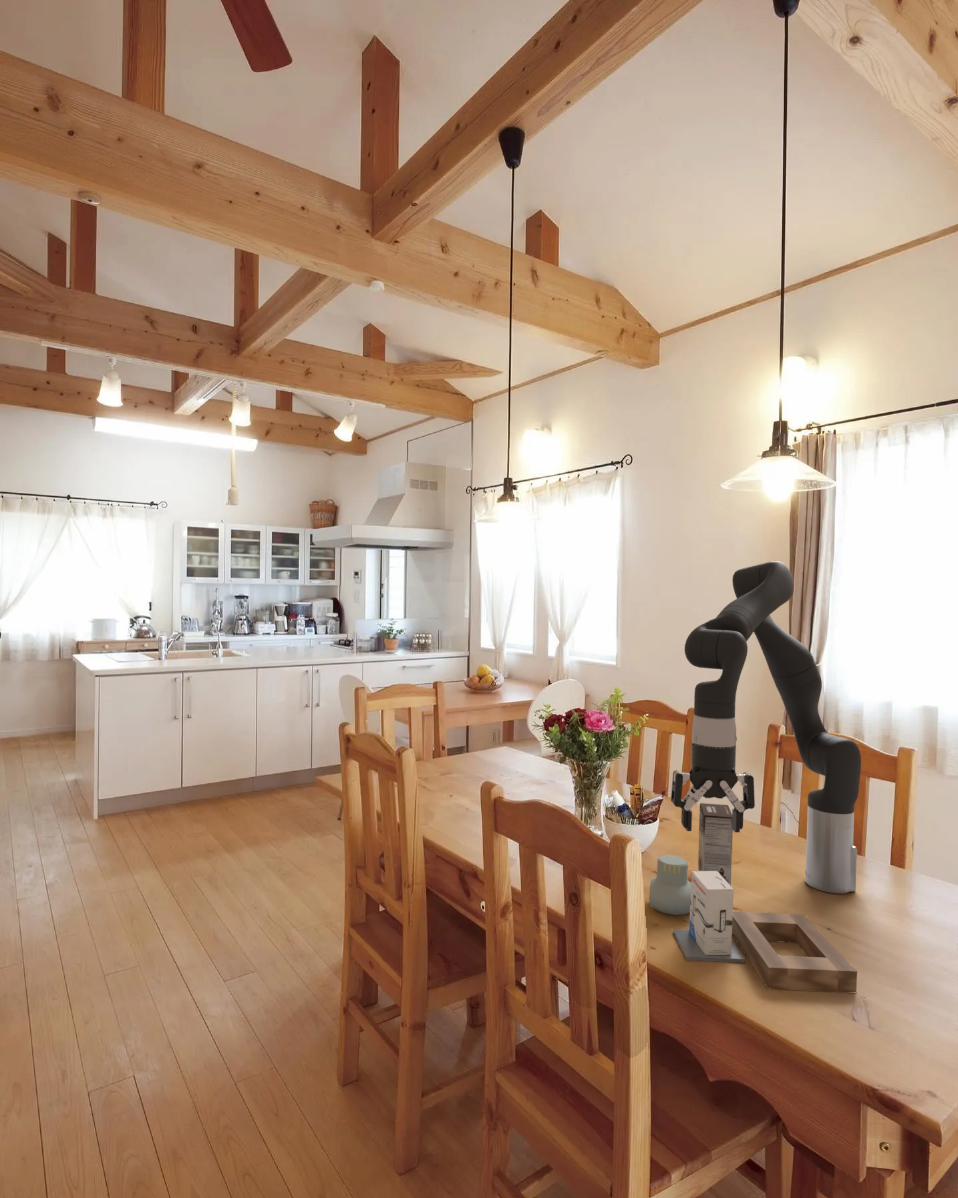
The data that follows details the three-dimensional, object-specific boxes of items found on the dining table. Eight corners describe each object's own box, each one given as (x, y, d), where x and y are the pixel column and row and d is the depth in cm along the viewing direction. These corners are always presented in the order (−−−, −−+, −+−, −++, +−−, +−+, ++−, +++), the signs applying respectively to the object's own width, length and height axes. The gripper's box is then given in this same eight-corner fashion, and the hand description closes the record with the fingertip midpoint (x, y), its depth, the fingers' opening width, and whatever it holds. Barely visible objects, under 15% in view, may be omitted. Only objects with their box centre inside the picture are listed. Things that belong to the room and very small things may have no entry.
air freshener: (692, 924, 136) (693, 873, 135) (648, 917, 138) (649, 867, 138) (692, 901, 146) (694, 853, 146) (651, 895, 148) (653, 848, 148)
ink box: (687, 932, 131) (689, 869, 131) (713, 932, 131) (715, 869, 131) (705, 956, 122) (707, 888, 122) (732, 956, 123) (734, 889, 123)
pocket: (803, 932, 133) (804, 914, 133) (856, 993, 113) (857, 971, 113) (728, 929, 134) (729, 911, 134) (768, 989, 114) (768, 967, 114)
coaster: (726, 934, 132) (726, 931, 132) (745, 962, 122) (745, 959, 122) (673, 932, 132) (673, 929, 132) (686, 960, 122) (686, 956, 122)
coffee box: (696, 871, 162) (698, 802, 161) (726, 874, 160) (728, 804, 160) (701, 888, 153) (703, 814, 152) (732, 891, 151) (734, 816, 151)
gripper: (746, 737, 130) (744, 824, 130) (668, 735, 130) (666, 822, 131) (761, 746, 122) (759, 839, 123) (679, 744, 123) (676, 836, 123)
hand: (711, 830), depth 127 cm, fingers open, 8 cm apart
